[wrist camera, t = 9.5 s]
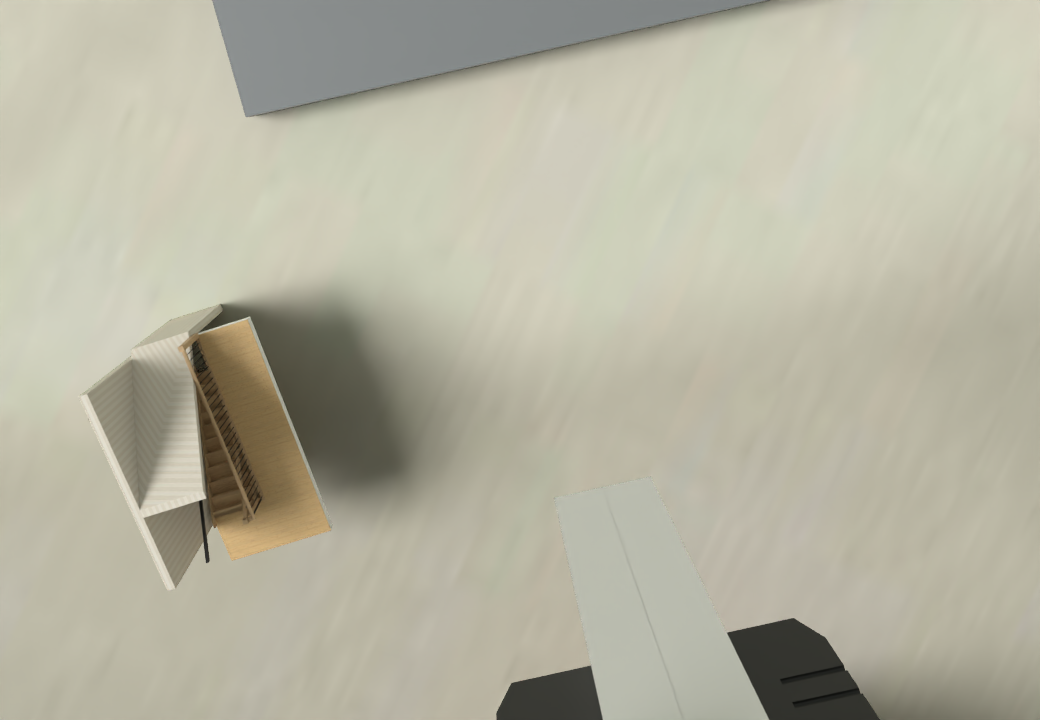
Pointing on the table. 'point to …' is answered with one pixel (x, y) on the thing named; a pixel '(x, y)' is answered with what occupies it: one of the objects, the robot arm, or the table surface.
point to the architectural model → (204, 444)
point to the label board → (409, 39)
